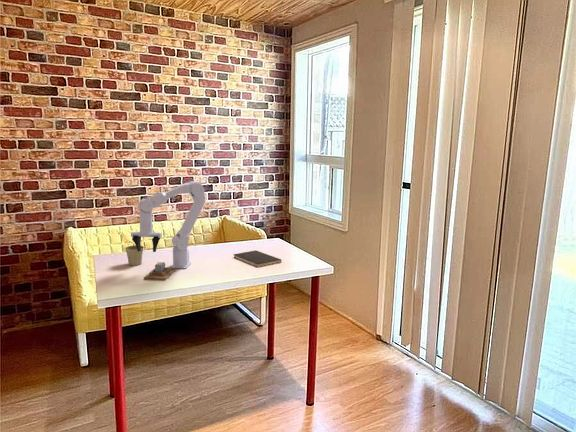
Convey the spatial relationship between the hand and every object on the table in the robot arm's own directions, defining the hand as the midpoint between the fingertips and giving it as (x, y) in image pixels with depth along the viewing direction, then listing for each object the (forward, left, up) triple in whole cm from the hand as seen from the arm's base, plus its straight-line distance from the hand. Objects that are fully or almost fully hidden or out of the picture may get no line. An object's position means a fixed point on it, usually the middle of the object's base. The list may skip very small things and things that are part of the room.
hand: (146, 251), depth 201 cm
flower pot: (-9, -10, -10) cm, 17 cm away
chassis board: (+7, +9, -9) cm, 15 cm away
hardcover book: (-26, +51, -10) cm, 58 cm away
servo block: (+7, +9, -8) cm, 14 cm away
